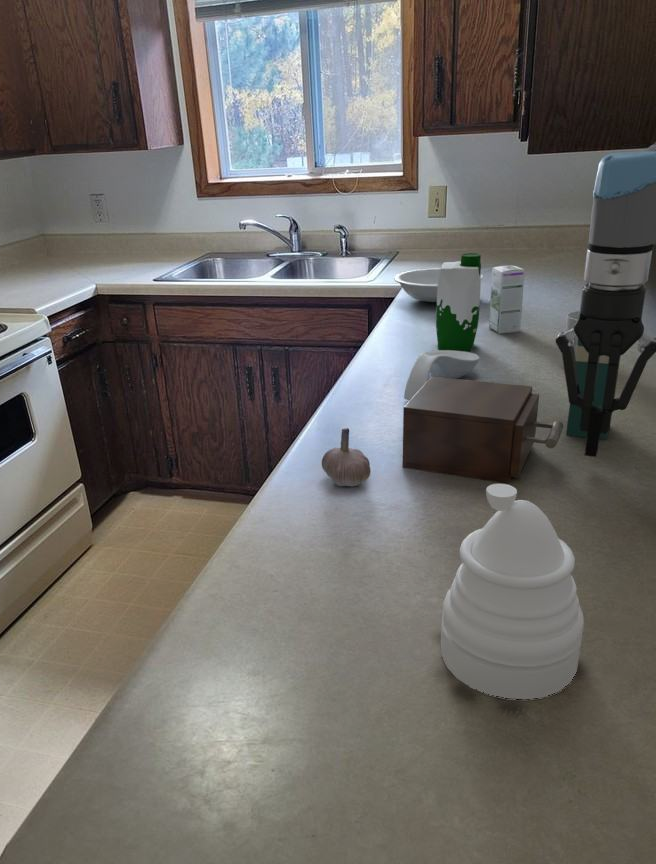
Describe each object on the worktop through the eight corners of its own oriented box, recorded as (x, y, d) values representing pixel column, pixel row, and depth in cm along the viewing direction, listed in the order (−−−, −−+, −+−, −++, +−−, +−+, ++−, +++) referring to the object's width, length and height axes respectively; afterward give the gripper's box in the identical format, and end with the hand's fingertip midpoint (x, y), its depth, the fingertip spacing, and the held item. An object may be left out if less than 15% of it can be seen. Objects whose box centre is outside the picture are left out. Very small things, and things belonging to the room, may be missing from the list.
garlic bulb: (333, 465, 112) (332, 416, 108) (379, 472, 109) (379, 422, 106) (313, 486, 106) (311, 435, 102) (361, 494, 103) (360, 442, 99)
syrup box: (521, 331, 173) (526, 268, 166) (497, 334, 172) (501, 270, 166) (510, 326, 178) (515, 264, 172) (487, 328, 177) (491, 266, 171)
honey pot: (454, 703, 66) (465, 529, 58) (430, 616, 78) (436, 461, 70) (598, 697, 66) (629, 522, 58) (553, 611, 77) (573, 455, 69)
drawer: (563, 445, 113) (569, 396, 109) (549, 482, 102) (555, 429, 98) (442, 429, 120) (444, 384, 117) (418, 462, 110) (419, 413, 106)
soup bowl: (376, 301, 208) (376, 277, 205) (435, 287, 220) (436, 264, 217) (440, 315, 190) (441, 289, 187) (500, 299, 203) (501, 274, 200)
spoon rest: (430, 363, 155) (431, 329, 152) (485, 369, 150) (487, 334, 147) (386, 399, 137) (387, 362, 133) (448, 407, 131) (450, 369, 128)
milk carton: (475, 353, 159) (481, 258, 150) (433, 352, 162) (436, 258, 153) (478, 342, 167) (484, 251, 158) (437, 341, 169) (441, 251, 160)
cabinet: (526, 444, 116) (532, 386, 111) (508, 483, 104) (513, 420, 100) (430, 431, 122) (432, 376, 118) (402, 467, 110) (403, 407, 106)
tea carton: (609, 426, 121) (624, 329, 113) (606, 440, 116) (621, 340, 109) (570, 421, 123) (582, 327, 116) (565, 435, 118) (577, 337, 111)
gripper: (556, 288, 94) (539, 456, 104) (669, 293, 88) (639, 469, 99) (565, 276, 100) (548, 436, 110) (672, 280, 94) (643, 448, 105)
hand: (591, 452), depth 105 cm, fingers closed
